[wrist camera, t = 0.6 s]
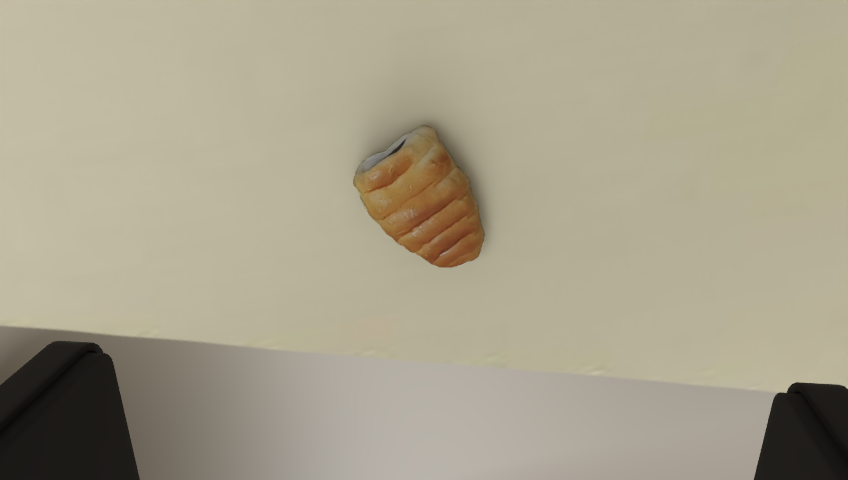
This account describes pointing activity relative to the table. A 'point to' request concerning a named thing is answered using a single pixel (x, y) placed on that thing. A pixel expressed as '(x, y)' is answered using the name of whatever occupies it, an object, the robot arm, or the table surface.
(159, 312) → the table surface
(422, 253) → the pastry
